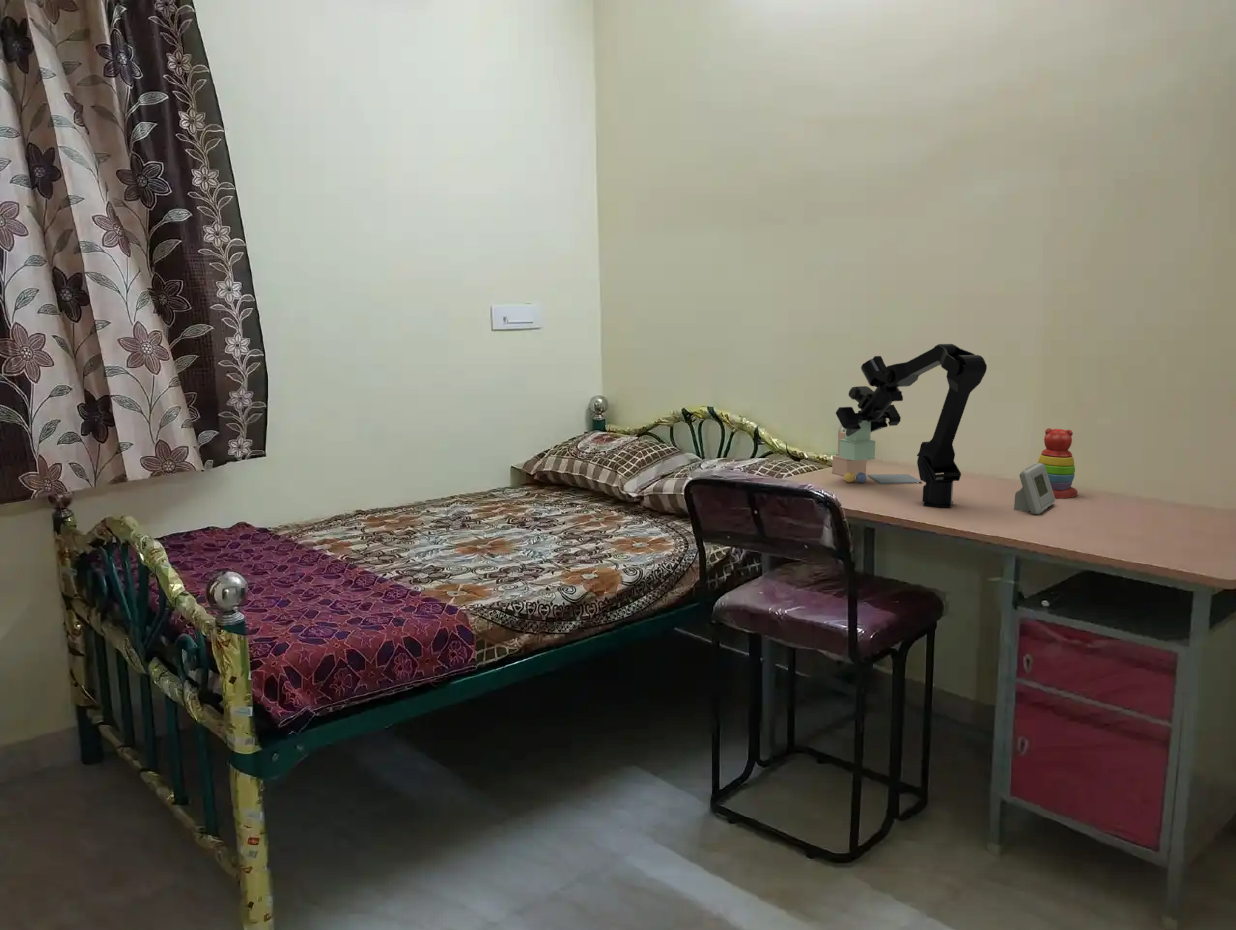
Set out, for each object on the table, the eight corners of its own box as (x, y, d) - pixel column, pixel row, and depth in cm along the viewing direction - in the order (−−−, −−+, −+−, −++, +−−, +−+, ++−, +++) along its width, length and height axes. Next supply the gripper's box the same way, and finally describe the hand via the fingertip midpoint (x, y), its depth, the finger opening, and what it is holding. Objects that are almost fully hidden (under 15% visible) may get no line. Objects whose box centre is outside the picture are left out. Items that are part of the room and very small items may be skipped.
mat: (922, 483, 264) (922, 481, 264) (880, 483, 264) (880, 482, 264) (907, 475, 276) (907, 474, 276) (867, 476, 276) (867, 474, 276)
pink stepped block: (865, 474, 278) (867, 433, 276) (846, 476, 275) (848, 434, 273) (851, 471, 284) (852, 430, 282) (832, 472, 281) (833, 431, 279)
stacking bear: (1078, 493, 250) (1083, 427, 247) (1073, 500, 241) (1079, 432, 238) (1034, 489, 255) (1039, 425, 252) (1028, 496, 247) (1033, 429, 244)
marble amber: (854, 476, 268) (857, 473, 265) (850, 485, 267) (854, 482, 264) (844, 472, 268) (848, 468, 265) (841, 481, 267) (844, 477, 264)
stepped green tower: (874, 459, 265) (876, 415, 262) (854, 460, 262) (855, 416, 260) (859, 455, 271) (860, 412, 269) (839, 457, 268) (840, 413, 266)
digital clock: (1037, 516, 223) (1040, 473, 222) (1001, 510, 230) (1004, 468, 228) (1067, 507, 234) (1070, 465, 232) (1031, 501, 241) (1034, 460, 239)
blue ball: (866, 480, 267) (869, 472, 265) (863, 486, 265) (866, 478, 263) (856, 476, 268) (858, 468, 266) (853, 482, 266) (855, 474, 264)
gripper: (895, 376, 262) (869, 411, 274) (840, 378, 255) (816, 414, 267) (913, 406, 257) (885, 441, 269) (857, 409, 250) (831, 445, 261)
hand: (854, 434), depth 267 cm, fingers closed on stepped green tower, 5 cm apart
